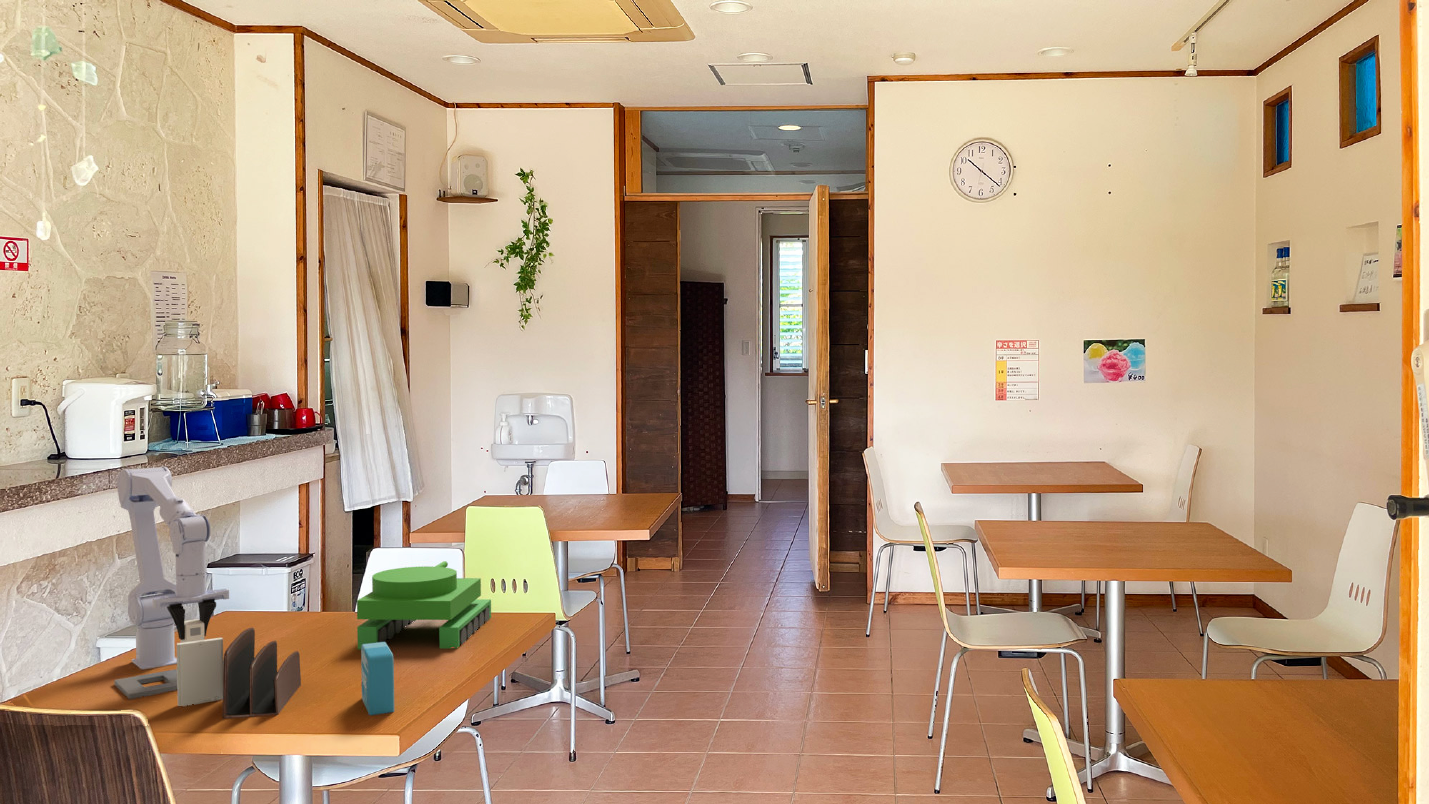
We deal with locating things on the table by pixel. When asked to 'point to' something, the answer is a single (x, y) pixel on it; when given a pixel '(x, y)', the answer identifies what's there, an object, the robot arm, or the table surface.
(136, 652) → the robot arm
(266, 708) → the letter holder
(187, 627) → the plug
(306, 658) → the table surface
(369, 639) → the tank
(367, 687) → the data package
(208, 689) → the external hard drive
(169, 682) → the jack panel
